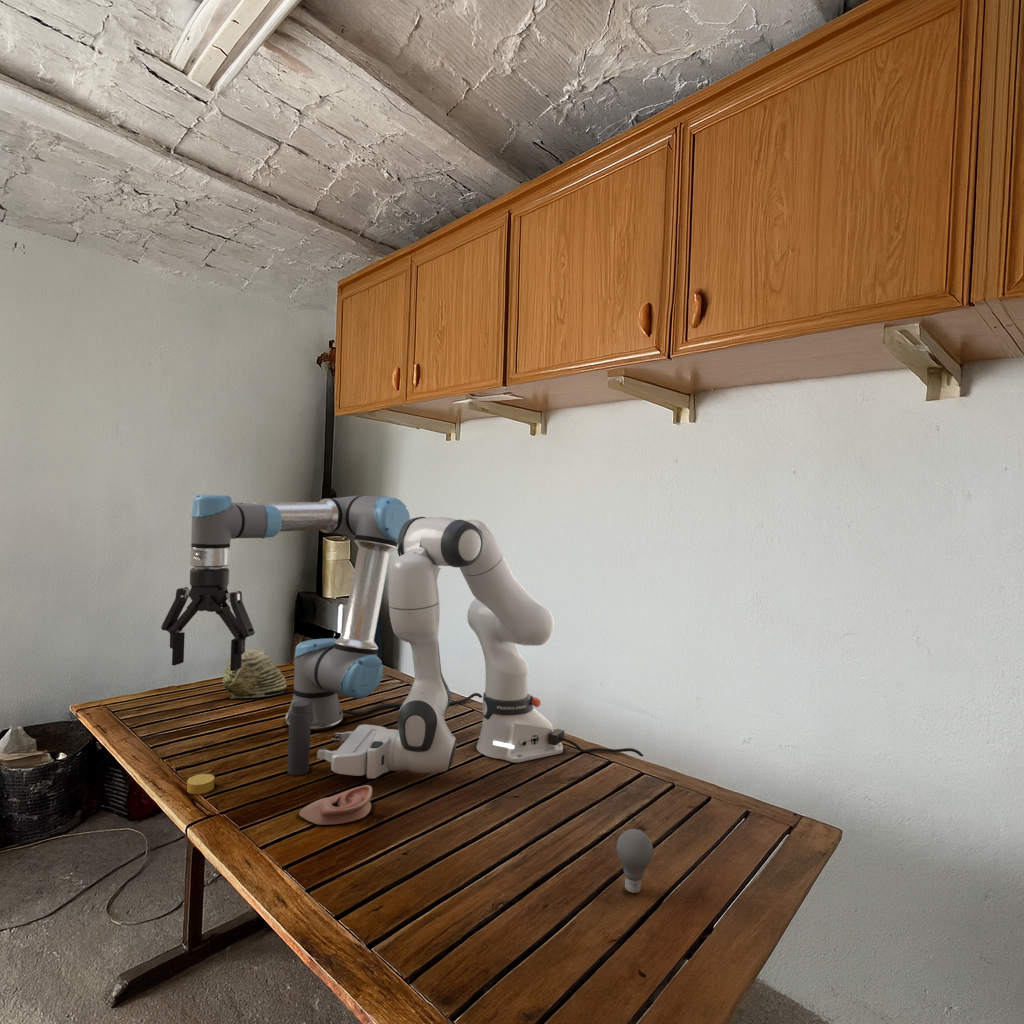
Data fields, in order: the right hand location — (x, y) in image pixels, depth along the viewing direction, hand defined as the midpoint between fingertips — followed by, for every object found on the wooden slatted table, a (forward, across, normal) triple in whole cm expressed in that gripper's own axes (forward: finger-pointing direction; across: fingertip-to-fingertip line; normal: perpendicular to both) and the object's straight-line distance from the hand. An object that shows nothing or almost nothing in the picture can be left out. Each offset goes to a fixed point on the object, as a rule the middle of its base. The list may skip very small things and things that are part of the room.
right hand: (326, 745), depth 145 cm
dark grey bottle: (+6, 0, +6) cm, 9 cm away
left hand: (+22, +12, -20) cm, 32 cm away
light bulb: (-66, +35, +6) cm, 75 cm away
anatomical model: (-9, +18, +6) cm, 21 cm away
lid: (+23, +12, +5) cm, 26 cm away
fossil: (+41, -50, +6) cm, 65 cm away
